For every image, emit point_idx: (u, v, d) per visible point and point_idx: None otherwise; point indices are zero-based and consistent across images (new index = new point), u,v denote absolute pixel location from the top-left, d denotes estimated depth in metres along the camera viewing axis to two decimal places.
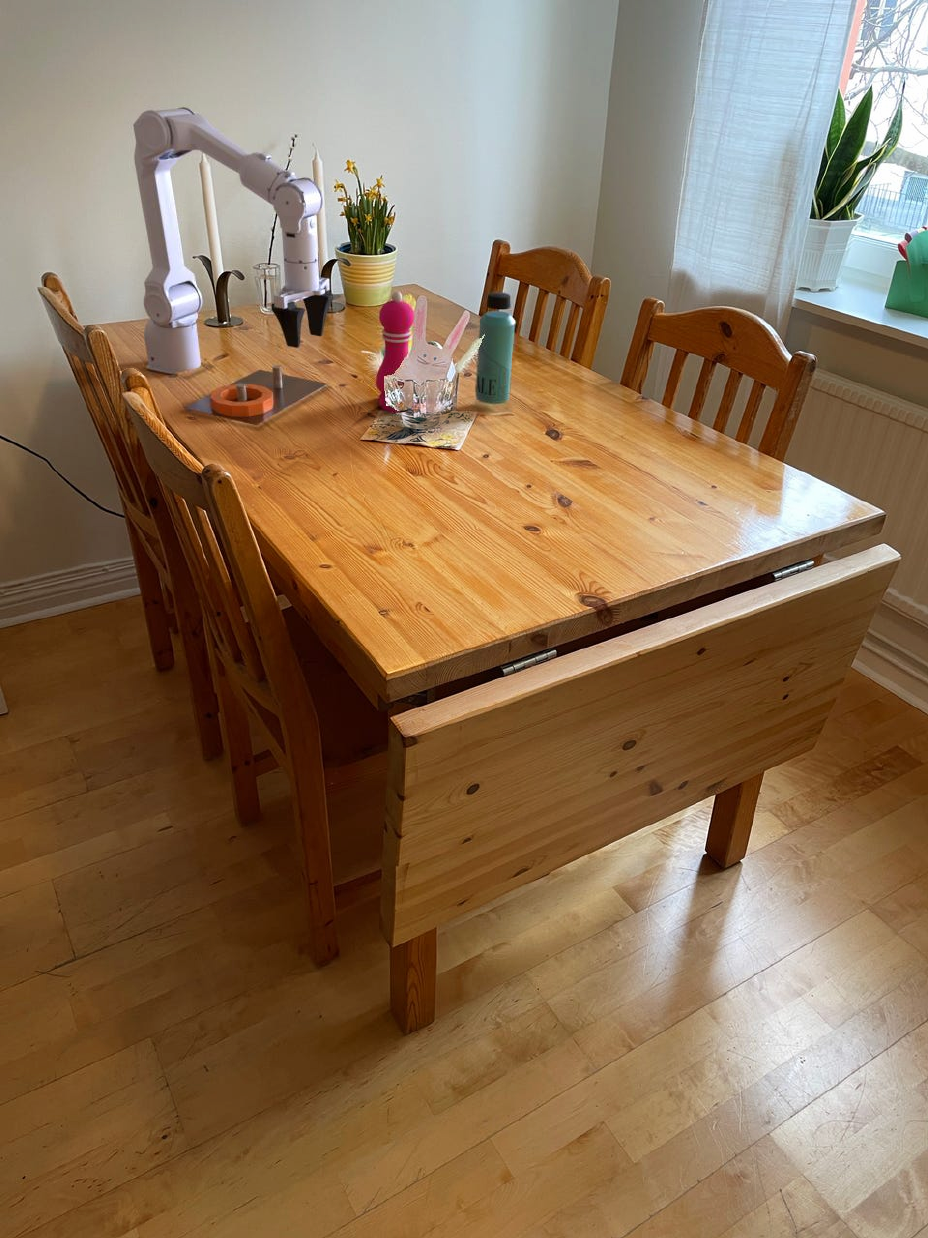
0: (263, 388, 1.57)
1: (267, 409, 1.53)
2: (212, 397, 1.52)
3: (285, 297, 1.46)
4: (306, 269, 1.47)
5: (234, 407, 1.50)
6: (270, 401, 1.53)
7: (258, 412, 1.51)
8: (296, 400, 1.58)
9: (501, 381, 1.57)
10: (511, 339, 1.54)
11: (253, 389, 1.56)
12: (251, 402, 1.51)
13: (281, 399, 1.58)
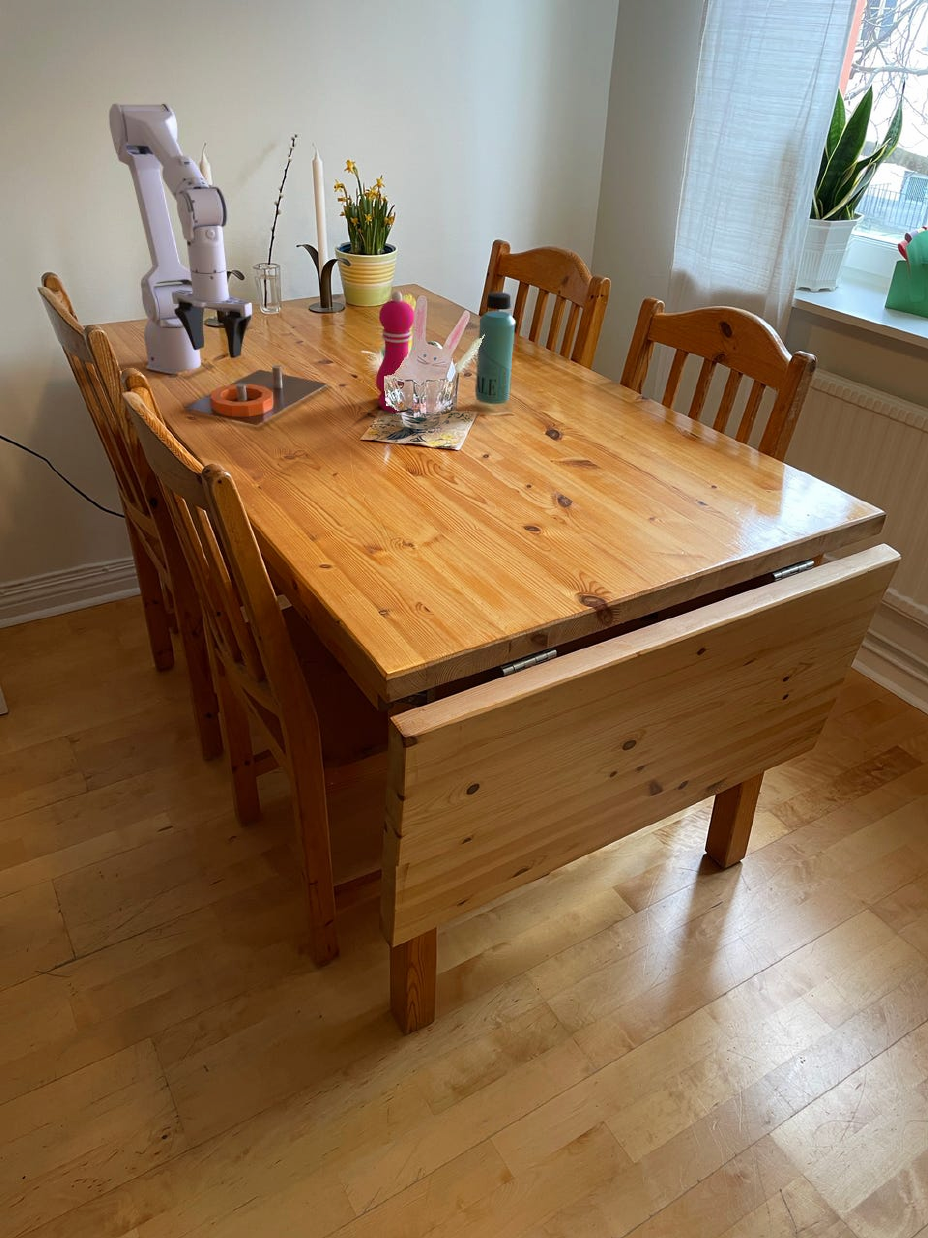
0: (263, 388, 1.57)
1: (267, 409, 1.53)
2: (212, 397, 1.52)
3: (173, 293, 1.49)
4: (191, 276, 1.44)
5: (234, 407, 1.50)
6: (270, 401, 1.53)
7: (258, 412, 1.51)
8: (296, 400, 1.58)
9: (501, 381, 1.57)
10: (511, 339, 1.54)
11: (253, 389, 1.56)
12: (251, 402, 1.51)
13: (281, 399, 1.58)
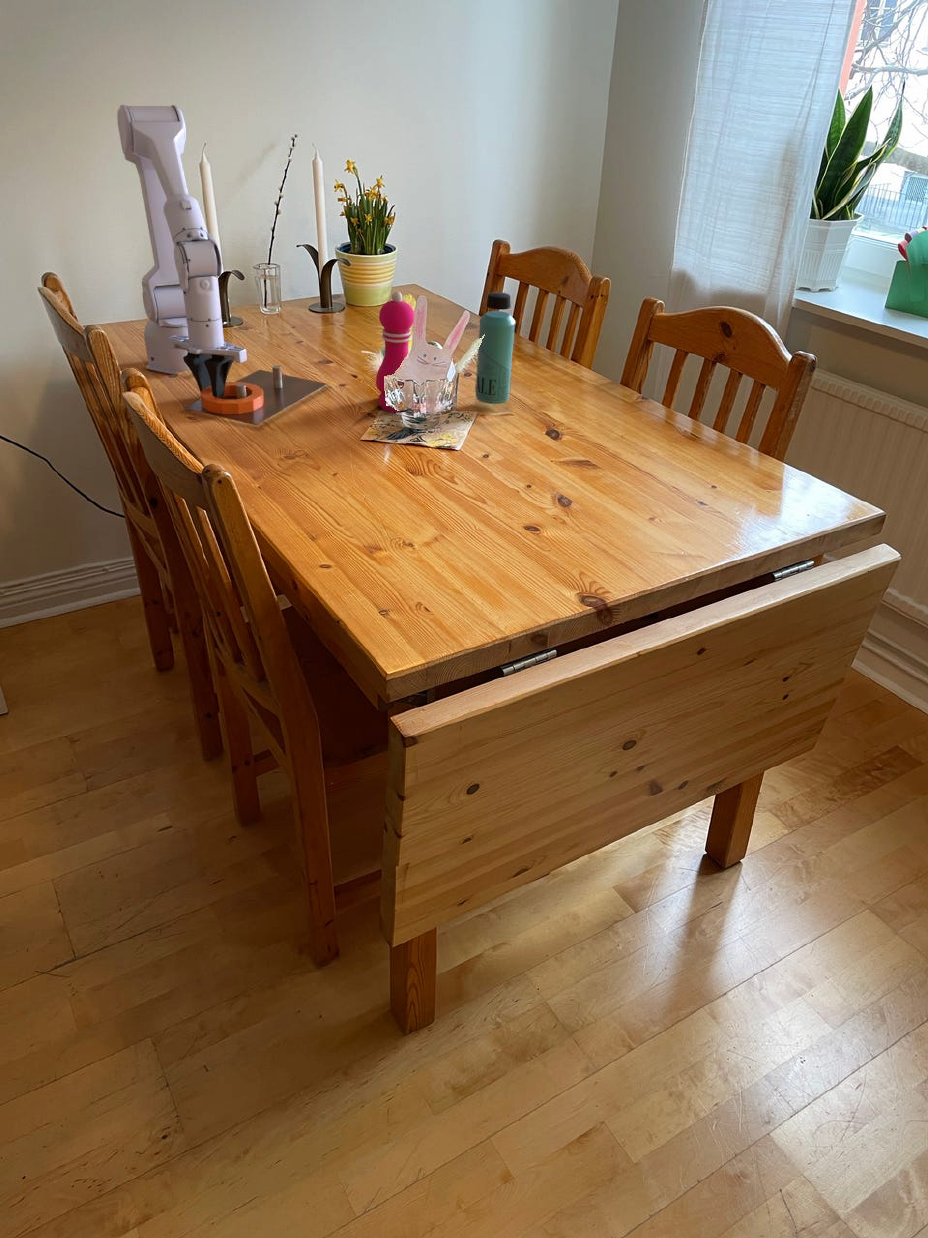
0: (253, 386, 1.57)
1: (257, 407, 1.54)
2: (202, 395, 1.52)
3: (170, 339, 1.53)
4: (187, 324, 1.48)
5: (224, 405, 1.50)
6: (260, 399, 1.54)
7: (248, 410, 1.52)
8: (296, 400, 1.58)
9: (501, 381, 1.57)
10: (511, 339, 1.54)
11: None
12: (241, 400, 1.51)
13: (281, 399, 1.58)
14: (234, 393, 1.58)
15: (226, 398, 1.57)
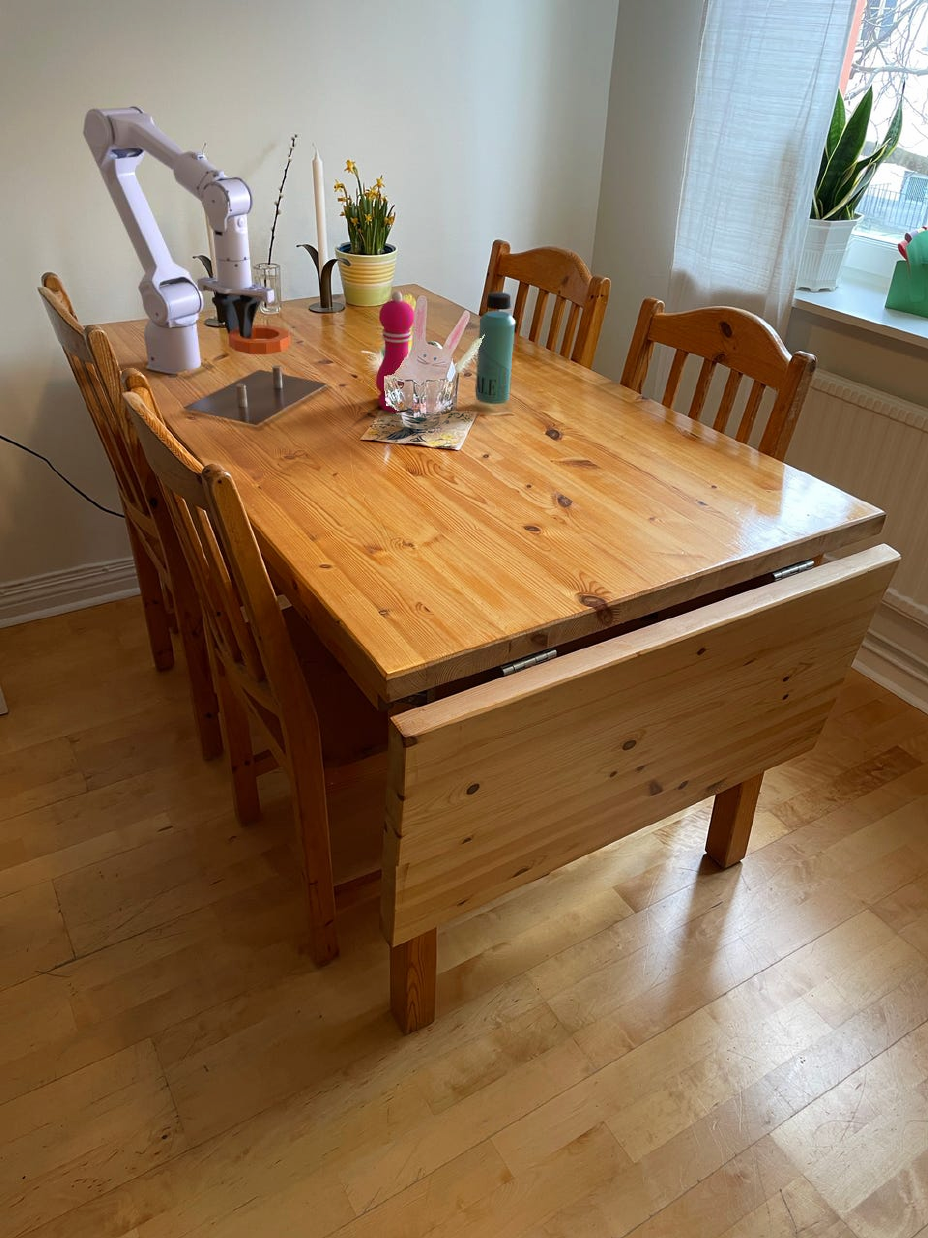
0: (280, 328, 1.60)
1: (284, 348, 1.56)
2: (230, 335, 1.55)
3: (199, 280, 1.55)
4: (216, 264, 1.51)
5: (252, 344, 1.53)
6: (287, 340, 1.56)
7: (275, 350, 1.55)
8: (296, 400, 1.58)
9: (501, 381, 1.57)
10: (511, 339, 1.54)
11: (270, 329, 1.60)
12: (269, 340, 1.54)
13: (281, 399, 1.58)
14: (261, 336, 1.61)
15: (226, 398, 1.57)
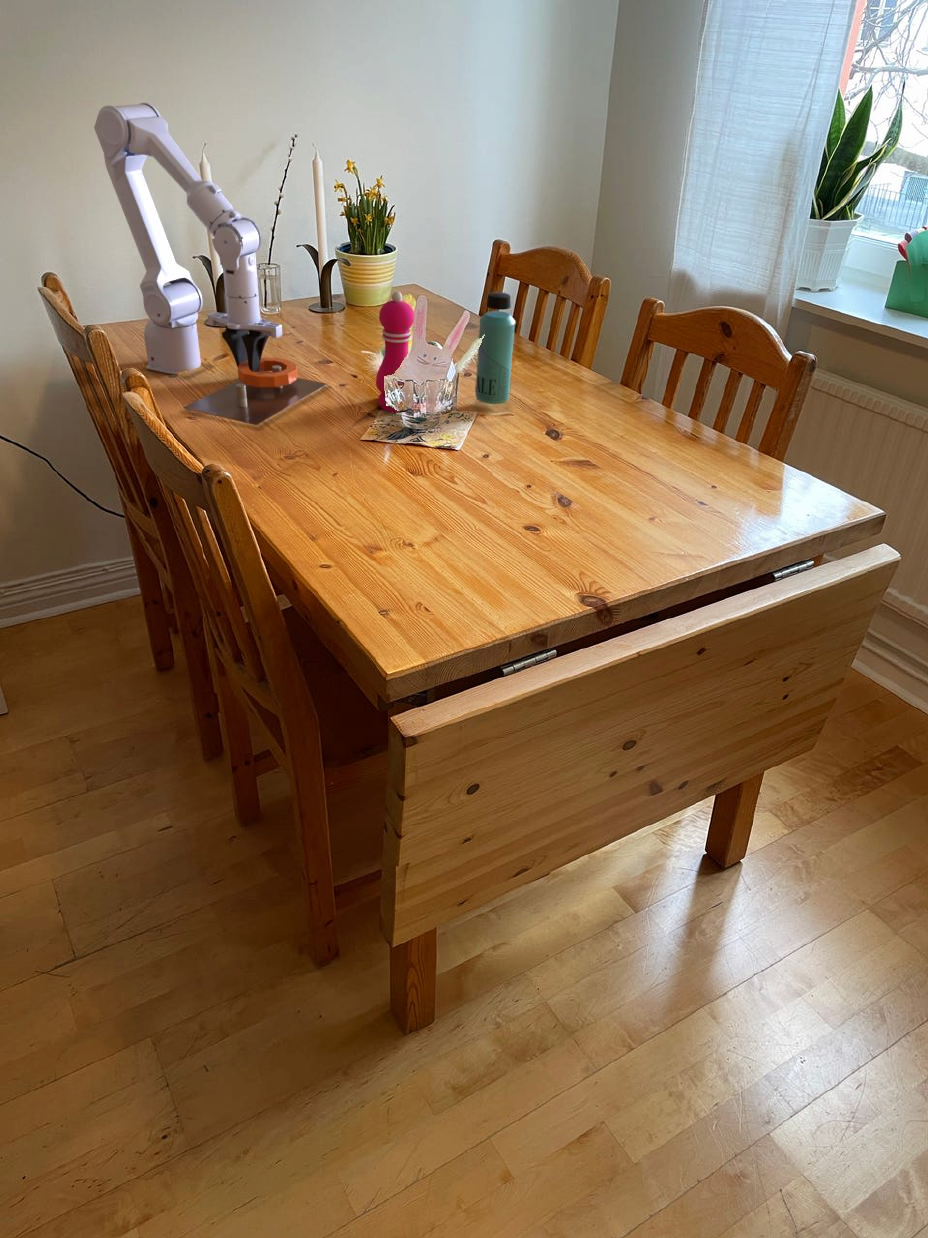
0: (287, 361, 1.65)
1: (292, 380, 1.61)
2: (240, 369, 1.60)
3: (209, 315, 1.60)
4: (226, 300, 1.56)
5: (261, 378, 1.58)
6: (295, 373, 1.61)
7: (283, 383, 1.60)
8: (296, 400, 1.58)
9: (501, 381, 1.57)
10: (511, 339, 1.54)
11: (278, 362, 1.65)
12: (277, 373, 1.59)
13: (281, 399, 1.58)
14: (269, 368, 1.66)
15: (226, 398, 1.57)
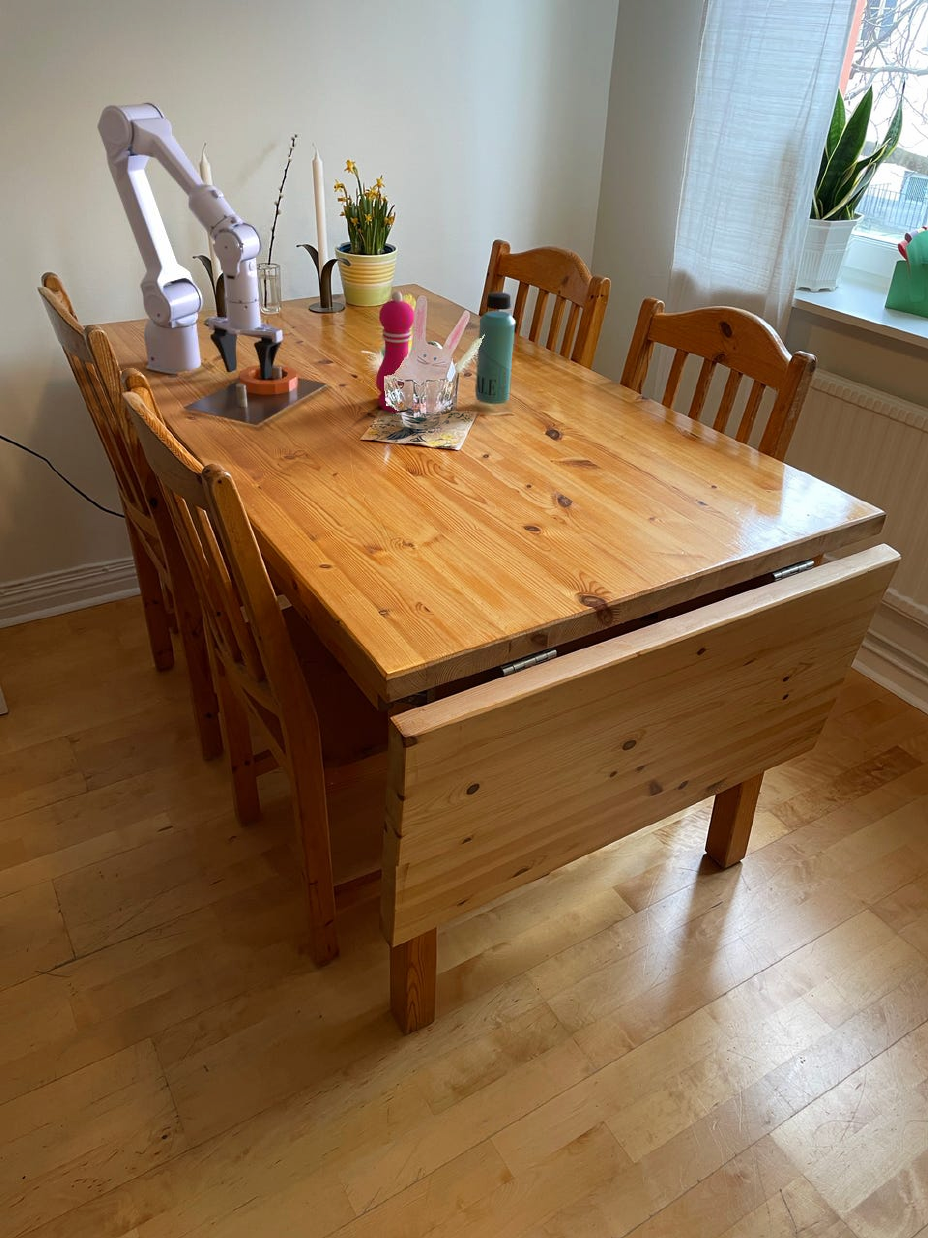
0: (288, 368, 1.66)
1: (292, 388, 1.62)
2: (240, 376, 1.61)
3: (209, 320, 1.61)
4: (226, 305, 1.56)
5: (262, 385, 1.59)
6: (295, 380, 1.62)
7: (284, 390, 1.61)
8: (296, 400, 1.58)
9: (501, 381, 1.57)
10: (511, 339, 1.54)
11: None
12: (277, 381, 1.60)
13: (281, 399, 1.58)
14: None
15: (226, 398, 1.57)
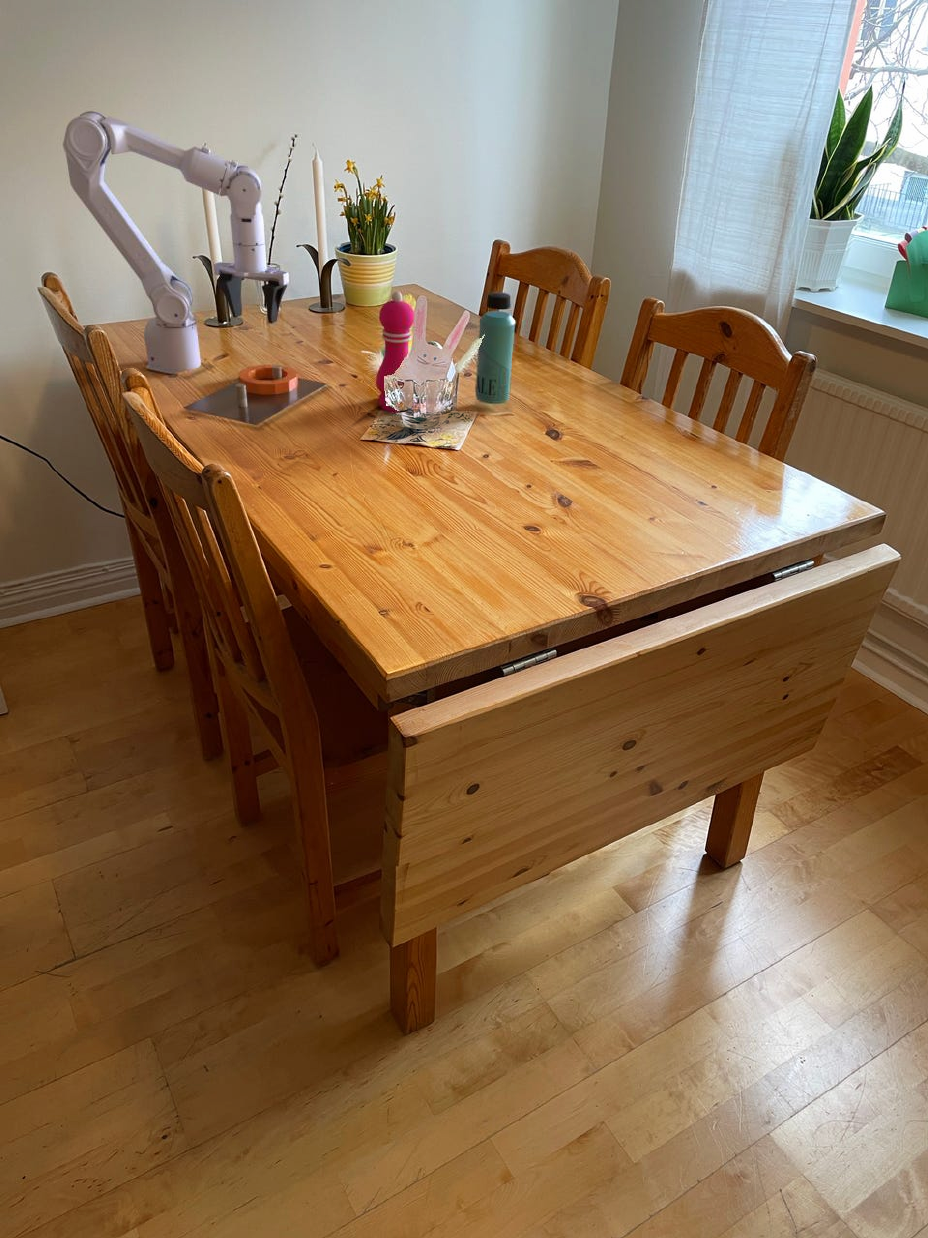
0: (288, 368, 1.66)
1: (292, 388, 1.62)
2: (240, 376, 1.61)
3: (215, 265, 1.64)
4: (233, 249, 1.60)
5: (262, 385, 1.59)
6: (295, 380, 1.62)
7: (284, 390, 1.61)
8: (296, 400, 1.58)
9: (501, 381, 1.57)
10: (511, 339, 1.54)
11: None
12: (277, 381, 1.60)
13: (281, 399, 1.58)
14: (269, 375, 1.66)
15: (226, 398, 1.57)
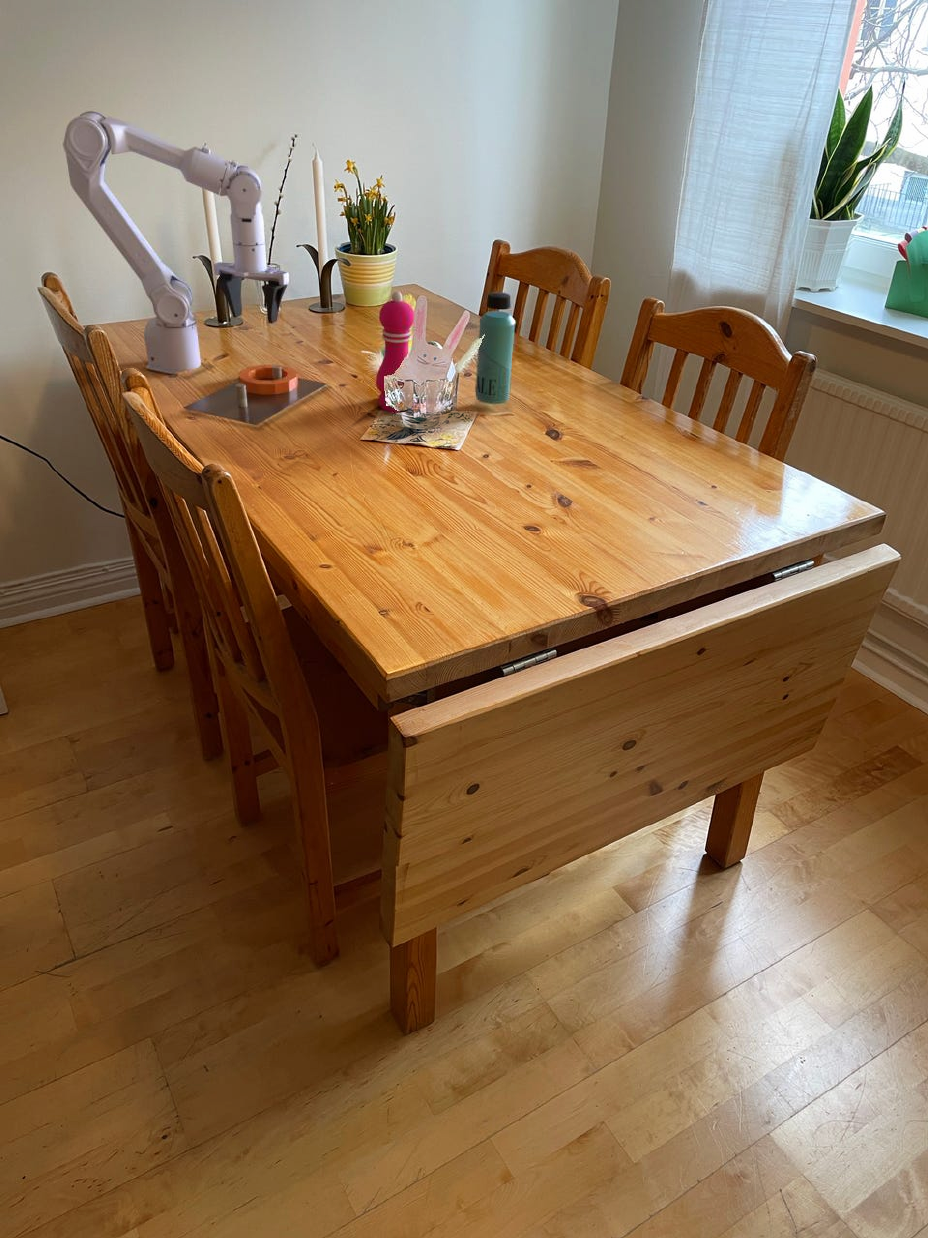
0: (288, 368, 1.66)
1: (292, 388, 1.62)
2: (240, 376, 1.61)
3: (215, 265, 1.64)
4: (233, 249, 1.60)
5: (262, 385, 1.59)
6: (295, 380, 1.62)
7: (284, 390, 1.61)
8: (296, 400, 1.58)
9: (501, 381, 1.57)
10: (511, 339, 1.54)
11: None
12: (277, 381, 1.60)
13: (281, 399, 1.58)
14: (269, 375, 1.66)
15: (226, 398, 1.57)
